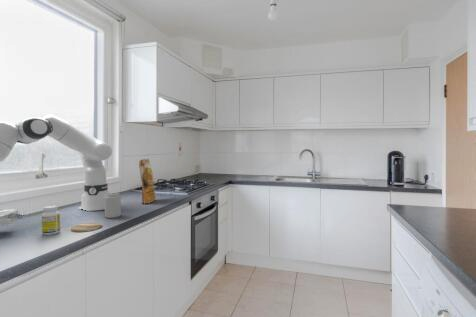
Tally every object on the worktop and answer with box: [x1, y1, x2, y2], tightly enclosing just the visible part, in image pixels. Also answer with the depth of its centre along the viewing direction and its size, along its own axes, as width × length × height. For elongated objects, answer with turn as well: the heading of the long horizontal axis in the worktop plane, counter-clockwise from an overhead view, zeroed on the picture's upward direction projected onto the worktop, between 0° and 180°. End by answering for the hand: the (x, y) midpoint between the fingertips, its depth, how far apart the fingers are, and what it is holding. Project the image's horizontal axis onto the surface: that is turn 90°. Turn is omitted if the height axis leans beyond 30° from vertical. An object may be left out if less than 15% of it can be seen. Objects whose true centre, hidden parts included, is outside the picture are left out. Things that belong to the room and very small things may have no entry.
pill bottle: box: [41, 205, 61, 236], centre depth 114 cm, size 6×6×11 cm
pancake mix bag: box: [138, 158, 157, 204], centre depth 179 cm, size 7×19×28 cm, turn 174°
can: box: [104, 192, 122, 219], centre depth 141 cm, size 8×8×12 cm
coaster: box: [70, 222, 103, 233], centre depth 122 cm, size 12×12×1 cm
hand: (17, 218), depth 112 cm, fingers open, 8 cm apart
